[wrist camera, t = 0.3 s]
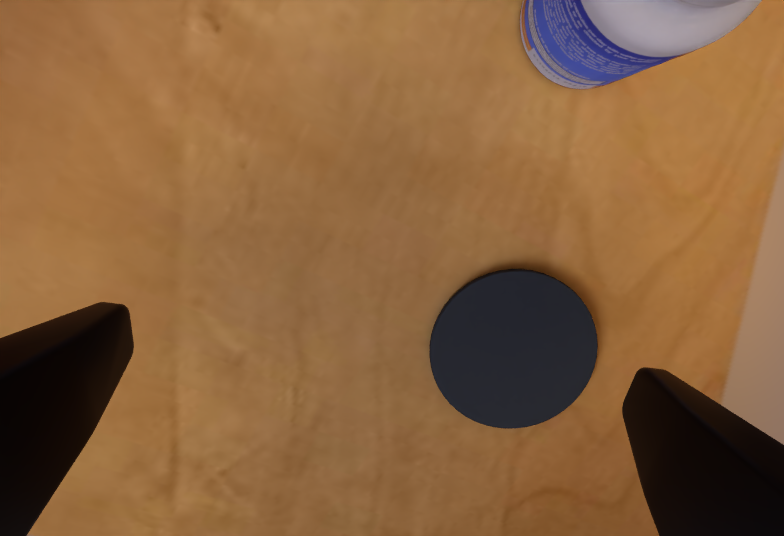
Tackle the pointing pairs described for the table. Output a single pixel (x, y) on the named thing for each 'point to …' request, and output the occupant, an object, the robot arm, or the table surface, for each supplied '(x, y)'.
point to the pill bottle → (620, 35)
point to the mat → (513, 348)
